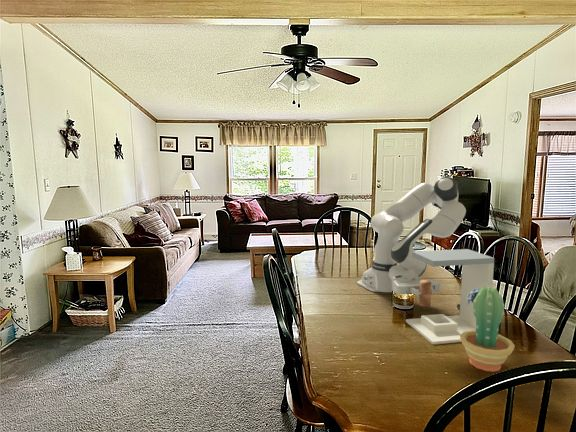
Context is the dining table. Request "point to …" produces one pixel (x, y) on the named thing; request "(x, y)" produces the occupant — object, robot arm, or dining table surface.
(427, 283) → the peg
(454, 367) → the dining table surface
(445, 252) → the awning socket
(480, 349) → the potted cactus
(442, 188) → the robot arm
